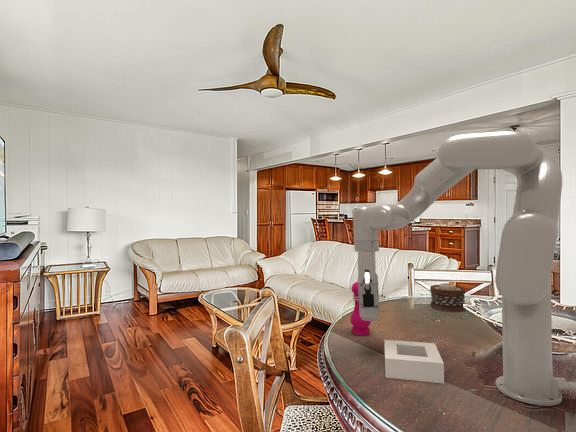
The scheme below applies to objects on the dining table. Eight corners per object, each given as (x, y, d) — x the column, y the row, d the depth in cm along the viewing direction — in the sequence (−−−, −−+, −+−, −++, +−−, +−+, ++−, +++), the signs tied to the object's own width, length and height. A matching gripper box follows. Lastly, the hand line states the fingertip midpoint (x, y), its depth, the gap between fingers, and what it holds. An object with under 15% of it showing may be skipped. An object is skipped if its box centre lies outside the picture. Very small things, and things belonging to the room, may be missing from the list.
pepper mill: (371, 336, 118) (370, 279, 118) (350, 335, 119) (349, 279, 120) (370, 330, 125) (369, 276, 125) (350, 329, 127) (349, 275, 127)
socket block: (435, 360, 97) (434, 343, 97) (444, 383, 84) (443, 363, 84) (384, 356, 101) (384, 339, 101) (385, 377, 87) (385, 358, 87)
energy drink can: (380, 321, 101) (378, 271, 102) (360, 321, 102) (358, 271, 103) (378, 316, 107) (376, 269, 108) (359, 316, 108) (357, 269, 109)
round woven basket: (473, 286, 148) (443, 288, 146) (474, 311, 148) (443, 313, 146) (451, 280, 163) (423, 282, 160) (452, 303, 163) (423, 305, 160)
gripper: (356, 245, 115) (358, 298, 114) (352, 248, 98) (354, 311, 97) (378, 244, 113) (381, 298, 112) (378, 248, 96) (381, 311, 96)
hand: (369, 303), depth 105 cm, fingers closed on energy drink can, 6 cm apart
